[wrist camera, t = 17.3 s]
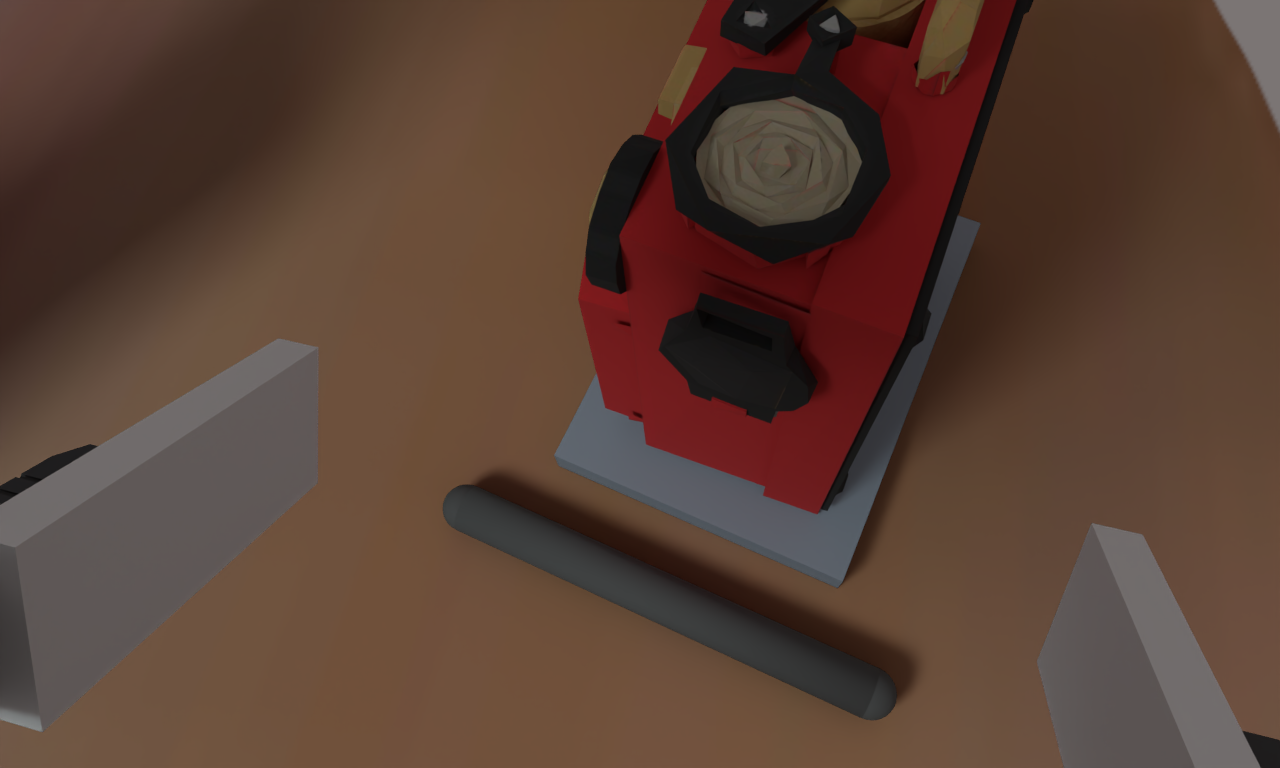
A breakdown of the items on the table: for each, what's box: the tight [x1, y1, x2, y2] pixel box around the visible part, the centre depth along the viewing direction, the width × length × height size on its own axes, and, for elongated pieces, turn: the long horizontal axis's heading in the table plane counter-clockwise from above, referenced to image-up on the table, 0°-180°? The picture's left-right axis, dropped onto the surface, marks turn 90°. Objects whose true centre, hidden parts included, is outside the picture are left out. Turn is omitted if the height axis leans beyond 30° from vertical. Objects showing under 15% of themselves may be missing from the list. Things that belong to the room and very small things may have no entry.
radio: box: [578, 0, 1033, 514], centre depth 33 cm, size 16×10×20 cm, turn 158°
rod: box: [443, 485, 897, 720], centre depth 39 cm, size 20×2×2 cm, turn 65°
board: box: [554, 216, 981, 588], centre depth 43 cm, size 13×18×2 cm
